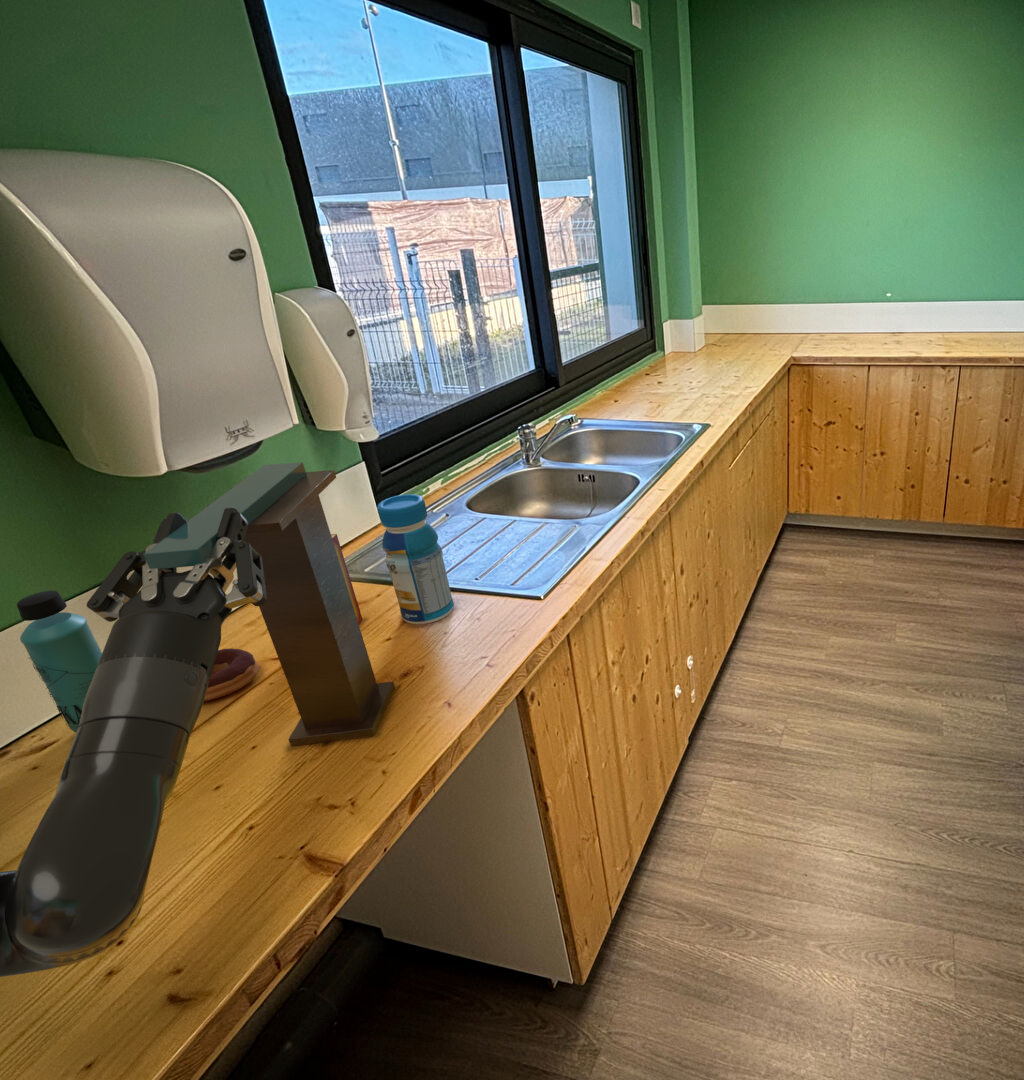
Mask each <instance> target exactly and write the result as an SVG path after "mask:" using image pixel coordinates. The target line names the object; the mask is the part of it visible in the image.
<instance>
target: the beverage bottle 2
mask: <svg viewBox="0 0 1024 1080" xmlns="http://www.w3.org/2000/svg"><path fill="white" fill-rule="evenodd" d="M377 513H378V517H379V521H380V524H381V525H382V526H383V528H385V531H384V533H383V537H382V543H381V546H382V550H383V551H384V552H385V554H386V555H385V560H384V561H385V565H386V567H387V570H388V572H389V575H390V578H391V582H392V585H393V586H392V587H393V589H394V592H395V595H396V599H397V603H398V606H399V607H398V608H399V612H400V616H401V618H402V620H403V621H404V622H406V623H408V624H411V625H427V624H431V623H434V622H438V621H440V620H442V619H444V618H446V617H448V615H449V614H451V613H452V611H453V610H454V607H455V603H454V600H453V596H452V592H451V588H450V584H449V583H450V582H449V579H448V575H447V570H446V566H445V562H444V554H443V548H442V547H441V545H440V544H439V543H438V540H439V535H438V532H437V531H436V530H435V528H434V527H433V526H432V525H431V523H429V522H428V521H426V520H427V519H428V510H427V506H426V502H425V500H424V497H423V496H421V495H419V494H413V493H408V494H399V495H393V496H391V497H388V498H385V499H383V500H381V502H379V503H378V504H377Z"/></svg>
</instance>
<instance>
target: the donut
mask: <svg viewBox="0 0 1024 1080" xmlns="http://www.w3.org/2000/svg"><path fill="white" fill-rule="evenodd" d="M259 671H260V666H259V663H258V662H257V661H256V659H255V657H254V655H253V653H251V652H249V651H247V650H244V649H242V648H241V649H240V648H222V649H218V653H217V656H216V660H215V663H214V667H213V670H212V674H211V678H210V681H209V684H208V688H207V692H206V695H205V699H204V702H208V701H212V700H216V699H219V698H222V697H225V696H228V695H230V694H232V693H235V692H236V691H238V690H241V689H242V688H244V687H245V686H246V685H248V684H250V683H251V682H252V681H253V680H254V679H255V678H256V677H257V676H258V674H259Z"/></svg>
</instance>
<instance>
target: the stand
mask: <svg viewBox="0 0 1024 1080" xmlns="http://www.w3.org/2000/svg"><path fill="white" fill-rule="evenodd" d="M247 477H248V476H246V477H245V478H244V479H246V478H247ZM336 478H337V475H336V471H335V470H334V469H329V470H317V471H306V475H305V476H304V477H303V478H302V479H301V480H300V481H299V482H297V483H296V484H295V485H294V486H293V487H292V488H291V489H289V490H288V491H287V492H286V493H285V494H284V495H283V496H281V497H280V498H279V499H278V500H277V501H276V502H275V503H274V504H272V505H271V506H270V507H269V508H268V509H267V510H266V511H264V512H263V513H262V514H261V515H260V516H259V517H258V518H256V519H255V520H254V521H253V522H252V523H251V524H250V525H248V527H247V529H246V530H247V531H246V533H245V537H244V541H247V542H248V543H249V544H250V545H251V547H252V548H253V549H254V550H255V551H256V552H257V553H258V554H259V555H260V556H261V557H262V562H263V570H264V579H265V587H266V595H267V601H266V602H265V603H264V604H263V605H261V606H258V607H259V611H260V613H261V616H262V618H263V621H264V624H265V626H266V629H267V631H268V634H269V637H270V639H271V642H272V646H273V648H274V650H275V653H276V655H277V658H278V661H279V663H280V666H281V670H282V671H283V674H284V676H285V679H286V681H287V685H288V687H289V690H290V692H291V695H292V698H293V700H294V703H295V706H296V709H297V711H298V714H299V717H300V719H299V720H298V722H297V724H296V726H295V727H294V729H293V730H292V732H291V734H290V735H289V737H288V739H287V740H288V742H289V745H290V747H298V746H304V745H312V744H320V743H329V742H336V741H345V740H353V739H361V738H367V737H375V734H376V733H377V730H378V728H379V726H380V723H381V721H382V719H383V716H384V714H385V713H386V710H387V707H388V705H389V704H390V701H391V698H392V696H393V694H394V691H395V690H396V686H395V684H394V681H385V682H378V683H377V679H376V676H375V673H374V670H373V666H372V663H371V660H370V657H369V653H368V650H367V647H366V644H365V640H364V638H363V634H362V630H361V628H360V624H358V621H357V617H356V614H355V611H354V608H353V604H352V601H351V598H350V595H349V592H348V588H347V585H346V582H345V579H344V575H343V572H342V569H341V566H340V562H339V559H338V556H337V553H336V550H335V546H334V543H333V540H332V537H331V534H332V533H331V531H330V527H329V524H328V521H327V520H328V519H327V517H326V514H325V511H324V508H323V505H322V501H321V497H320V494H321V493H322V492H324V490H326V488H327V487H328V486H330V485H331V484H332V483H333V482H334V480H336ZM244 479H242V480H241V481H239V482H238V483H237V484H235V485H234V486H233V487H231V488H230V489H229V490H231V489H232V488H234V487H235V486H236V485H238V484H239V483H240V482H242V481H243V480H244ZM229 490H227V491H226V492H225V493H227V492H228V491H229ZM225 493H223V494H221V496H223V495H224V494H225ZM221 496H219V497H217V498H216V499H215V500H214V501H212V502H211V503H210V504H208V505H207V506H206V507H204V508H203V509H201V510H200V511H199V512H198V513H200V512H201V511H203V510H204V509H205V508H207V507H208V506H209V505H211V504H212V503H213V502H215V501H216V500H217V499H219V498H220V497H221ZM198 513H196V514H194V516H196V515H197V514H198ZM194 516H192V517H191V518H189V519H187V521H189V520H190V519H192V518H193V517H194Z"/></svg>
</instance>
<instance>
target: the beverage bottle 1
mask: <svg viewBox="0 0 1024 1080" xmlns="http://www.w3.org/2000/svg"><path fill="white" fill-rule="evenodd" d="M16 607H17V610H18V612H19V616H20V617H21V619H22V620H23V621H24V622H25V621H26V622H29V621H32V622H30V623H29V624H28V625H27V626H26V627H25V629H24V630H23V631H22V633H21V635H20V637H19V640H20V642H21V644H22V645H23V646H24V648H25V649H26V652H27V653H28V657H29V660H31V662H32V664H33V665H32V667H33V669H34V670H35V672H37V676H39V679H40V680H41V681H42V683H43V684H45V685H44V686H46V687H45V690H48V692H47V694H48V695H49V697H50V698H51V700H52V701H53V703H54V705H55V707H56V710H57V711H58V713H59V715H60V716H61V719H63V720H64V721H65V726H66V727H67V728H68V729H69V730H70V731H72V732H73V733H75V734H76V732H77V730H78V726H79V723H80V719H81V714H82V708H83V704H84V700H85V697H86V694H87V692H88V689H89V686H90V684H91V681H92V679H93V676H94V673H95V671H96V668H97V666H98V663H99V660H100V658H101V655H102V653H103V651H102V650H101V648H100V646H99V644H98V642H97V640H96V638H95V636H94V634H93V632H92V629H91V628H90V626H89V624H88V620H87V618H86V616H83V615H80V614H77V613H73V612H66V611H65V612H64V610H65V609H66V608H67V602H66V601H65V600H64V599H63V597H62V596H61V594H60V593H59V592H58V591H57V590H45V591H41V592H39V591H38V592H35V593H33V594H32V593H31V594H30V595H27V596H25V597H23V598H21V599H20V600H18V601H17V603H16Z"/></svg>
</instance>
